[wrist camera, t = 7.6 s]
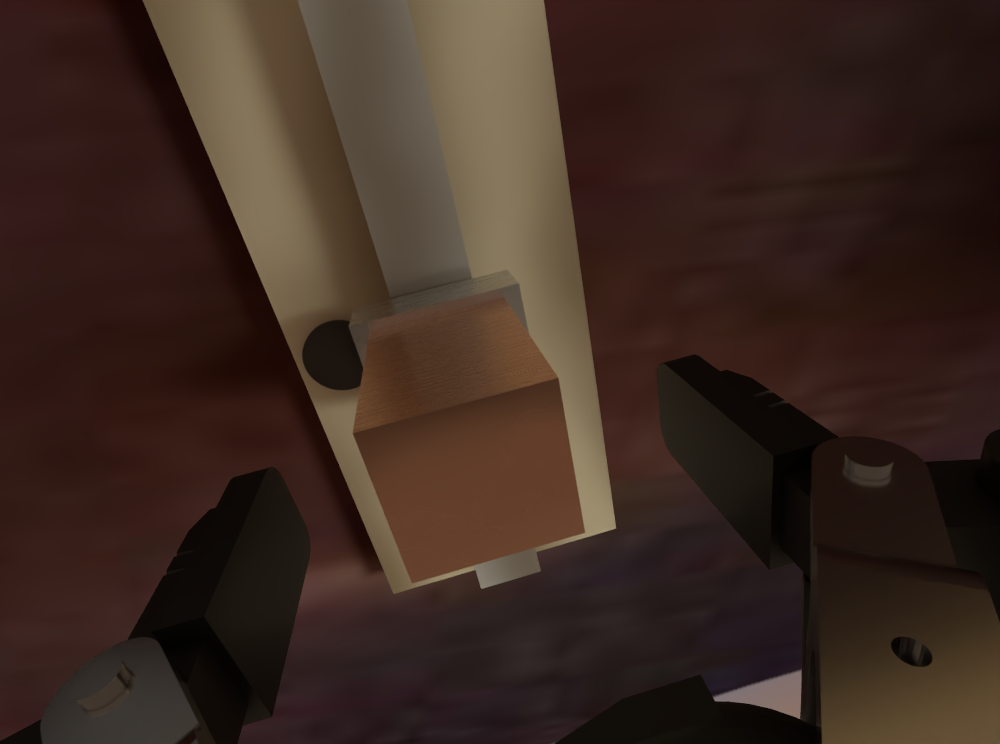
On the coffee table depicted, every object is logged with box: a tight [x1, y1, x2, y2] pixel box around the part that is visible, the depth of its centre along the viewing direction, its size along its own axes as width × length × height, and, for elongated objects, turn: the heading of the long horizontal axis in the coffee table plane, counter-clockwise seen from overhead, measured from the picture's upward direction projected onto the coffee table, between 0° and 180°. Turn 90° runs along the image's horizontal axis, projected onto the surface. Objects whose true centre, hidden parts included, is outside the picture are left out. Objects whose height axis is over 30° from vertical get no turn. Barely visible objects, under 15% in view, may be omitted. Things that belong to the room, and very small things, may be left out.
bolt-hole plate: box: [143, 0, 616, 594], centre depth 14 cm, size 10×30×6 cm, turn 12°
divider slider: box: [349, 270, 585, 584], centre depth 13 cm, size 4×4×9 cm
